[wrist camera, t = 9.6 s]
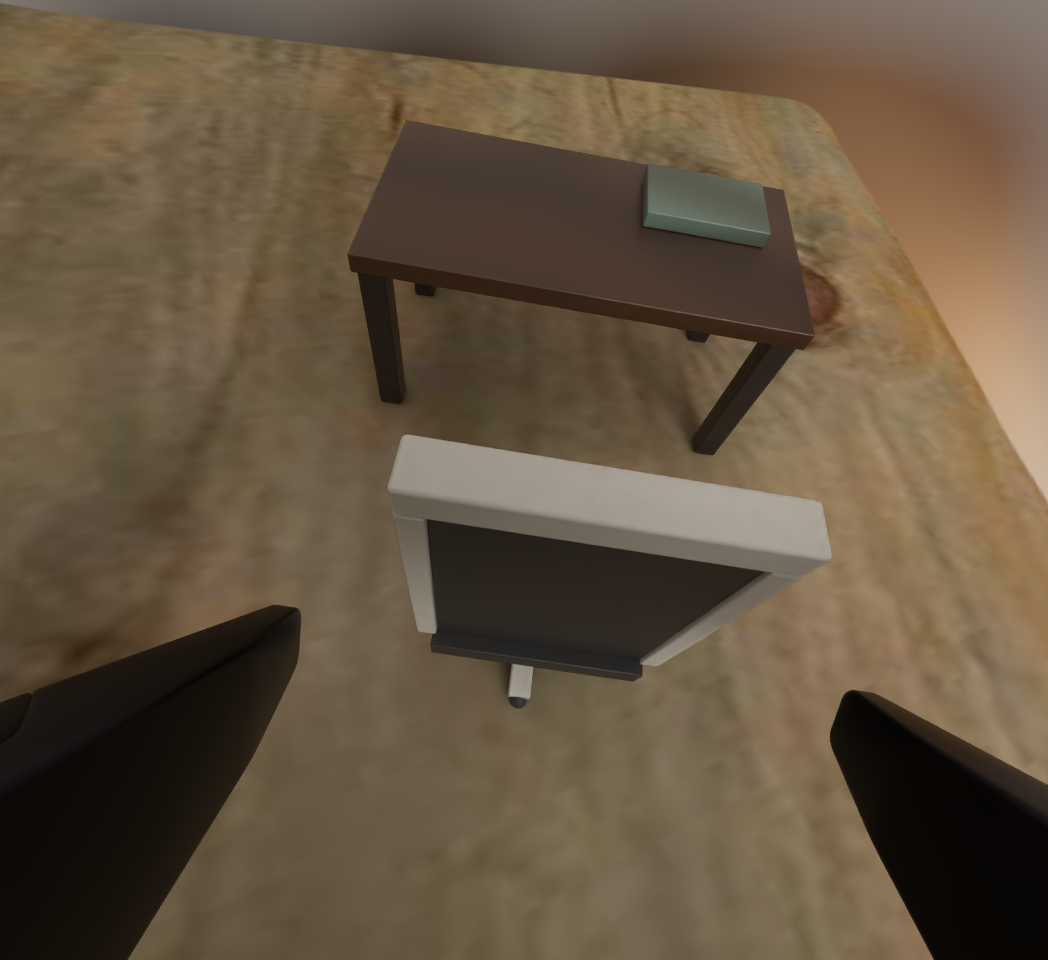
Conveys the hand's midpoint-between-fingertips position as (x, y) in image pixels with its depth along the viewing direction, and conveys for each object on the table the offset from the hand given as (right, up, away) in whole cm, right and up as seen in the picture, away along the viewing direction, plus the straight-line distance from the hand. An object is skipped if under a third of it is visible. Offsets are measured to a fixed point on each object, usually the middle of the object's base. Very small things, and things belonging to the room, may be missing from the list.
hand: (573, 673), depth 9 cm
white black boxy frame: (-1, -1, +11) cm, 11 cm away
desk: (+1, +9, +17) cm, 19 cm away
